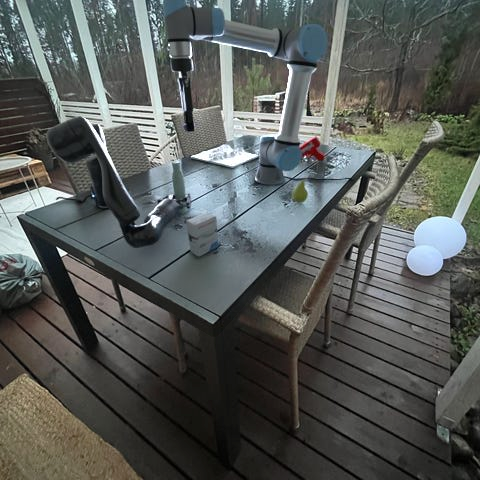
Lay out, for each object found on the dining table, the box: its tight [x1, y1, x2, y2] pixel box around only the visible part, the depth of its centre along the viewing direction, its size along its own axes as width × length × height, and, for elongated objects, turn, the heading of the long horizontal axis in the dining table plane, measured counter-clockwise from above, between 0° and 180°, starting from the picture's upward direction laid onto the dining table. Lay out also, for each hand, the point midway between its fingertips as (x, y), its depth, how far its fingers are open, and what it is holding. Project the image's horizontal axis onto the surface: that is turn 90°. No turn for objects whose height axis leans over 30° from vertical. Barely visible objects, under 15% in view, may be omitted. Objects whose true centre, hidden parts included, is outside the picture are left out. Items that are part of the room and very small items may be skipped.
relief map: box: [190, 143, 259, 169], centre depth 179 cm, size 27×35×5 cm
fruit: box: [291, 174, 311, 204], centre depth 118 cm, size 7×8×12 cm
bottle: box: [171, 160, 189, 215], centre depth 109 cm, size 5×5×21 cm
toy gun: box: [299, 135, 326, 164], centre depth 171 cm, size 18×4×15 cm
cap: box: [183, 123, 196, 132], centre depth 105 cm, size 4×4×2 cm
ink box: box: [185, 211, 219, 258], centre depth 87 cm, size 8×5×12 cm, turn 134°
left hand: (182, 194), depth 113 cm, fingers closed on bottle, 4 cm apart
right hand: (189, 130), depth 105 cm, fingers closed on cap, 4 cm apart
